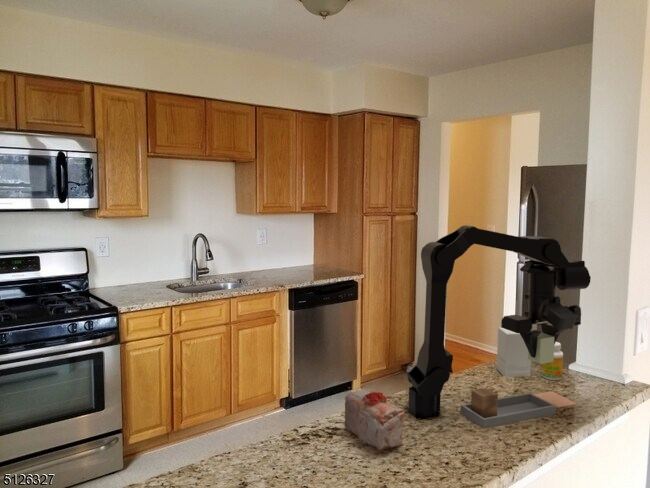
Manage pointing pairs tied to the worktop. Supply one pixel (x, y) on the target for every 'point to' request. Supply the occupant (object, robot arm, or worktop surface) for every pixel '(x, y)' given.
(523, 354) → the supplement box
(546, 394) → the coaster
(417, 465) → the worktop surface
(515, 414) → the bin
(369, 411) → the food item
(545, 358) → the sage block
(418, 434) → the worktop surface
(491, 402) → the walnut block
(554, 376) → the supplement bottle
